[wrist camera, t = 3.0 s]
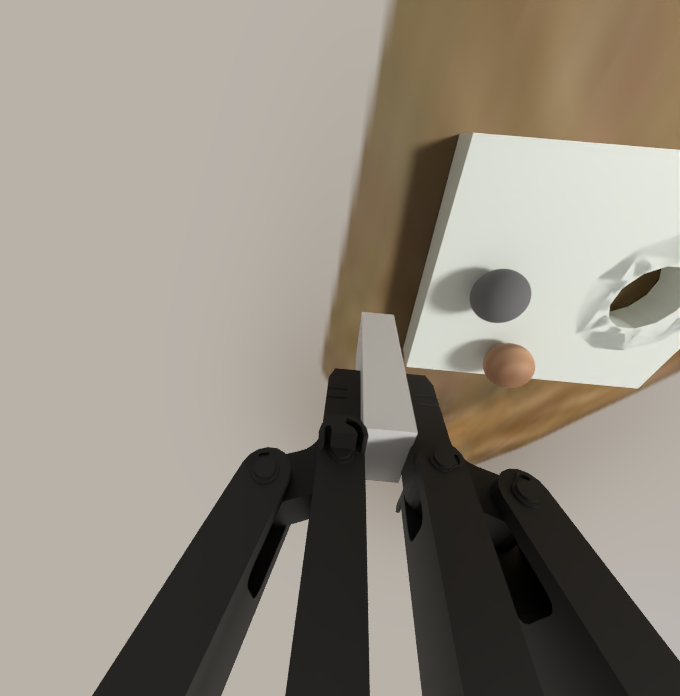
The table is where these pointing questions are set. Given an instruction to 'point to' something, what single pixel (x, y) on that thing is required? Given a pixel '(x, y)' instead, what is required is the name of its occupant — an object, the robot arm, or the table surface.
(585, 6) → the table surface
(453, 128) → the table surface
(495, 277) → the ball
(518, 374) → the wood ball
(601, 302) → the plate
